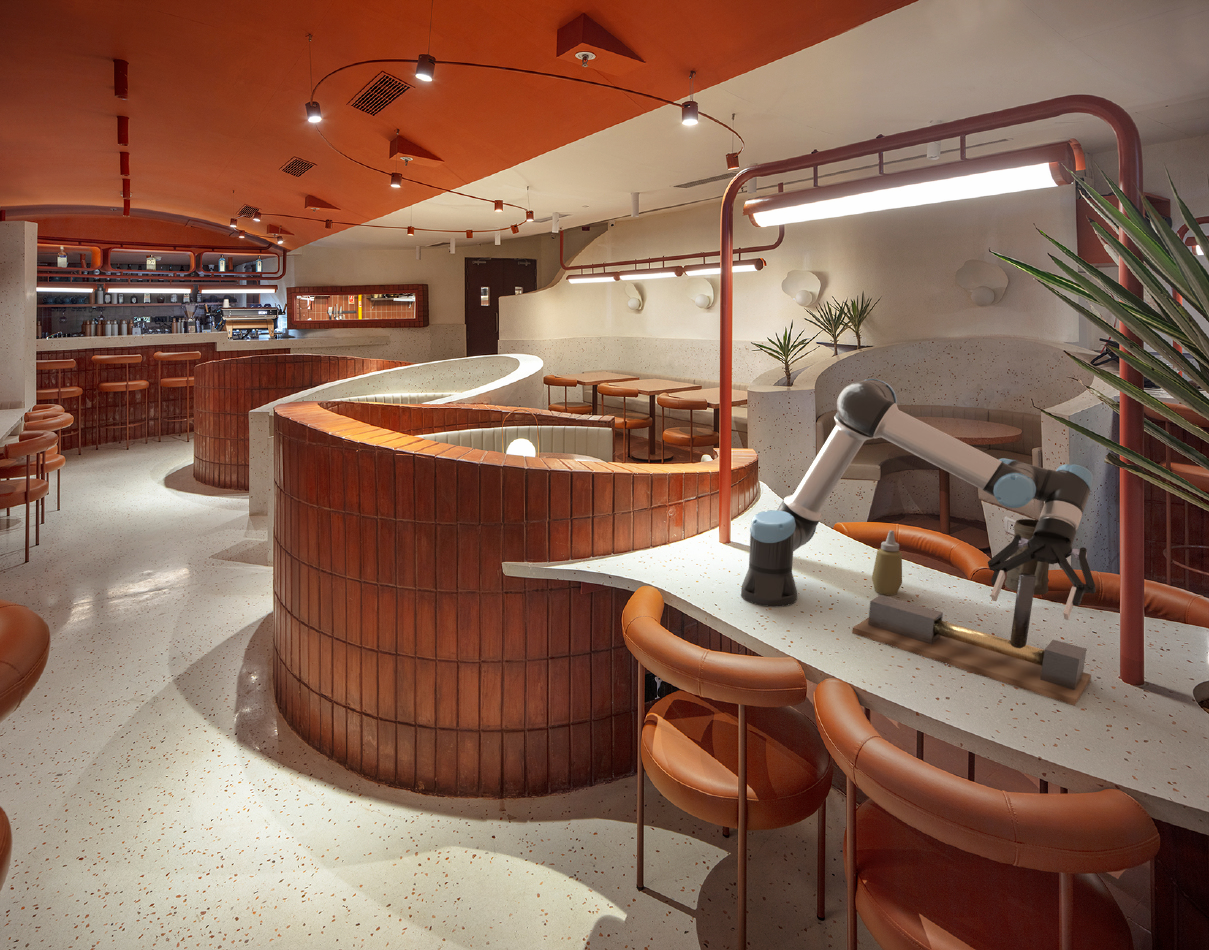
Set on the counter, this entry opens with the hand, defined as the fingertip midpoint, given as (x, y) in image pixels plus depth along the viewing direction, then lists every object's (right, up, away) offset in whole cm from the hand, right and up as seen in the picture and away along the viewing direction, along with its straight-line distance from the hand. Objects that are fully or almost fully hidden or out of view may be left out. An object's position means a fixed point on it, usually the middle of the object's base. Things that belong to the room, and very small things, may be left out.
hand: (1028, 607), depth 144 cm
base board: (-9, -13, +10) cm, 18 cm away
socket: (+4, -14, -4) cm, 15 cm away
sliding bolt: (-5, -11, +5) cm, 12 cm away
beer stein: (+31, -5, +49) cm, 58 cm away
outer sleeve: (-18, -9, +19) cm, 28 cm away
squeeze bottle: (-11, -5, +48) cm, 49 cm away
